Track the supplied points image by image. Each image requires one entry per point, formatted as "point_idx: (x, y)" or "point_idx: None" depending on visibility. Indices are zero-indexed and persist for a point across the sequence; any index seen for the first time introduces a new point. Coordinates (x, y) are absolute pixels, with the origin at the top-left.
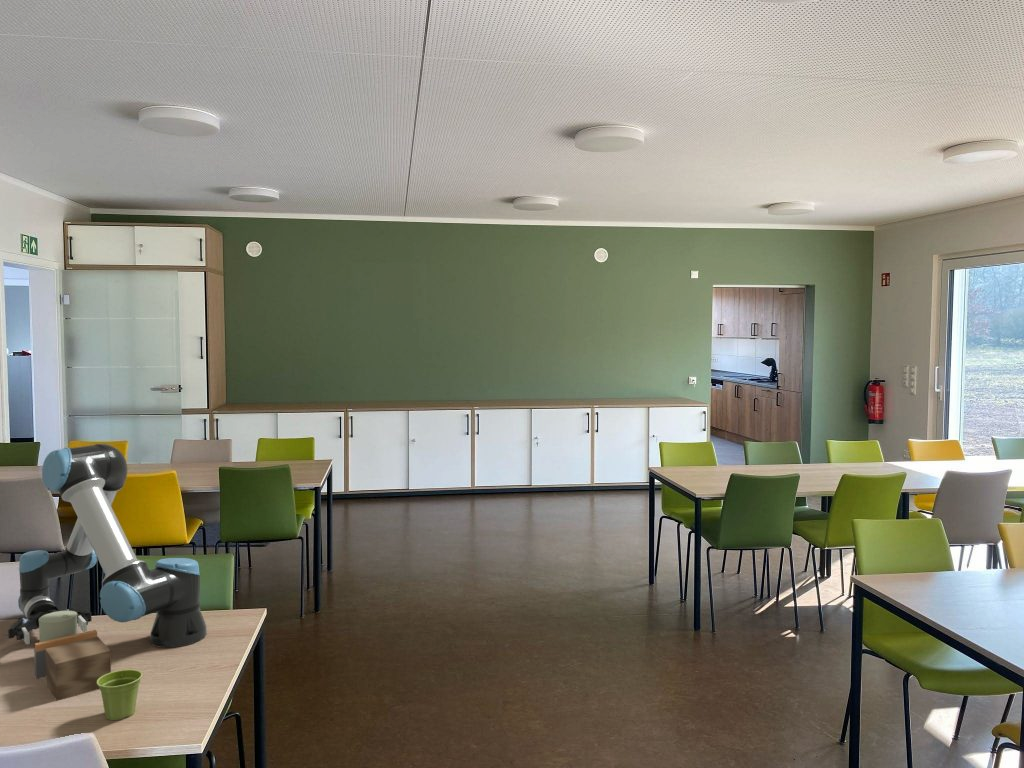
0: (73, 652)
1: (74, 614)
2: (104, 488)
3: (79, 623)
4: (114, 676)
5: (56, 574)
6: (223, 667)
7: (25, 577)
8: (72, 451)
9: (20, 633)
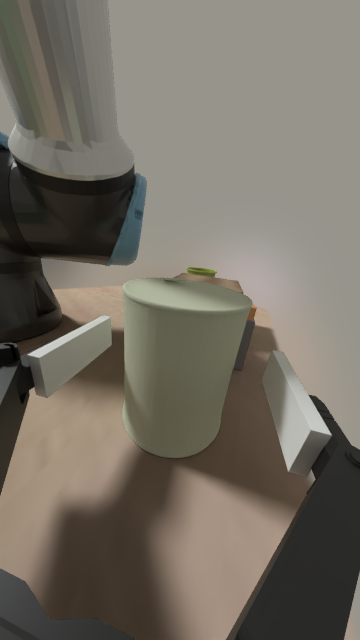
0: (214, 280)
1: (146, 281)
2: None
3: (67, 367)
4: (199, 274)
5: None
6: (104, 288)
7: None
8: None
9: (315, 403)
